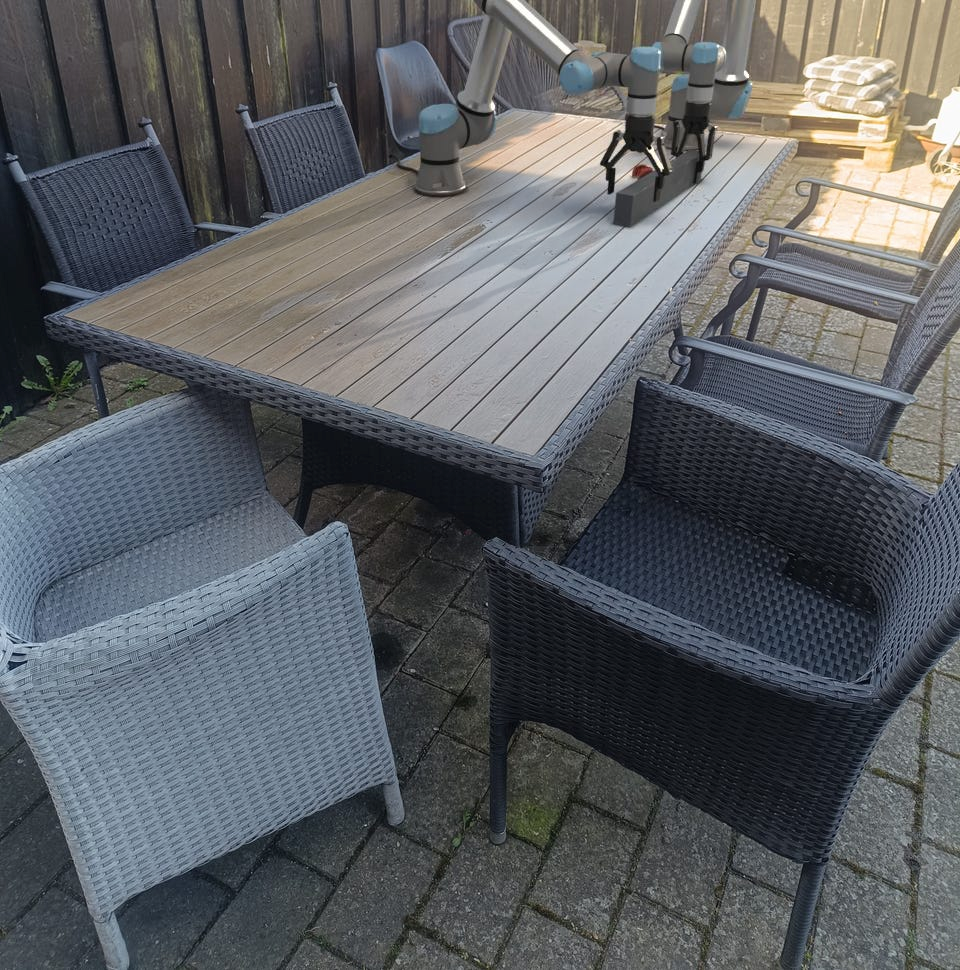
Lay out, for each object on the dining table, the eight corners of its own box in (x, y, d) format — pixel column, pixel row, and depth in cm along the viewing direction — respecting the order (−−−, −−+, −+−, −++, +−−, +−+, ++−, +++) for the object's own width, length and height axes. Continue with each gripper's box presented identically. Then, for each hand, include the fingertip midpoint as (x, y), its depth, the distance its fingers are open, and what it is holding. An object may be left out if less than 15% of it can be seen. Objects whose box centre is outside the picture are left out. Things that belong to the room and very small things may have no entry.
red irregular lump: (647, 160, 269) (657, 167, 263) (646, 174, 272) (656, 181, 265) (631, 162, 268) (641, 169, 262) (630, 176, 271) (640, 183, 264)
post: (629, 227, 230) (633, 195, 225) (613, 224, 233) (616, 192, 228) (700, 179, 267) (705, 151, 262) (685, 177, 269) (689, 149, 264)
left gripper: (691, 116, 216) (681, 200, 228) (603, 106, 227) (598, 186, 239) (680, 122, 211) (670, 207, 223) (591, 111, 222) (586, 193, 234)
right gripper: (732, 102, 249) (719, 182, 263) (674, 95, 257) (665, 173, 271) (723, 106, 244) (710, 188, 258) (665, 99, 252) (655, 179, 266)
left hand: (633, 197), depth 231 cm, fingers open, 13 cm apart
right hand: (687, 180), depth 264 cm, fingers closed on post, 5 cm apart
